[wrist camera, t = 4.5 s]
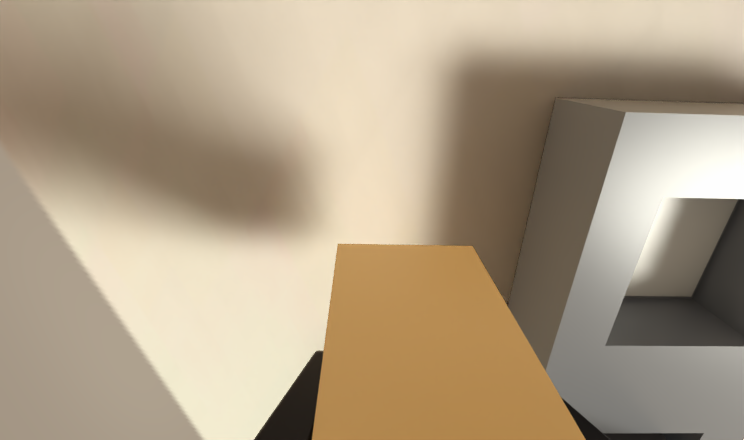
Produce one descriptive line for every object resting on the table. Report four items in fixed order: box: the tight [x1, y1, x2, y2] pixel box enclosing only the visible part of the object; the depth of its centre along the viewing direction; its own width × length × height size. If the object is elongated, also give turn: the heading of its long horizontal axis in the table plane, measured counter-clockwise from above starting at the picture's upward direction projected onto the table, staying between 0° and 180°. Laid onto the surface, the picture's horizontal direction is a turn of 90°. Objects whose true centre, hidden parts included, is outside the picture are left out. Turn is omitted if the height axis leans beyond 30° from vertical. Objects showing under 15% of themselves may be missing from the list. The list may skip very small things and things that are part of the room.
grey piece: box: [508, 98, 744, 440], centre depth 17 cm, size 22×10×4 cm, turn 178°
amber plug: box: [312, 244, 586, 440], centre depth 8 cm, size 4×4×8 cm
